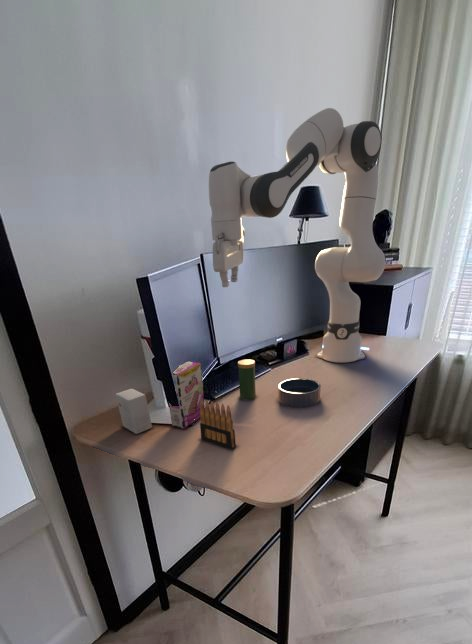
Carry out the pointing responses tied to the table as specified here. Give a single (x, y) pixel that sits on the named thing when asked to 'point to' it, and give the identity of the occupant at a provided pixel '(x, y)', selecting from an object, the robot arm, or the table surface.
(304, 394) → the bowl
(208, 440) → the ammunition clip
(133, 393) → the small box
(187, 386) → the candy bar box
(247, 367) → the tea tin
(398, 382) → the table surface
